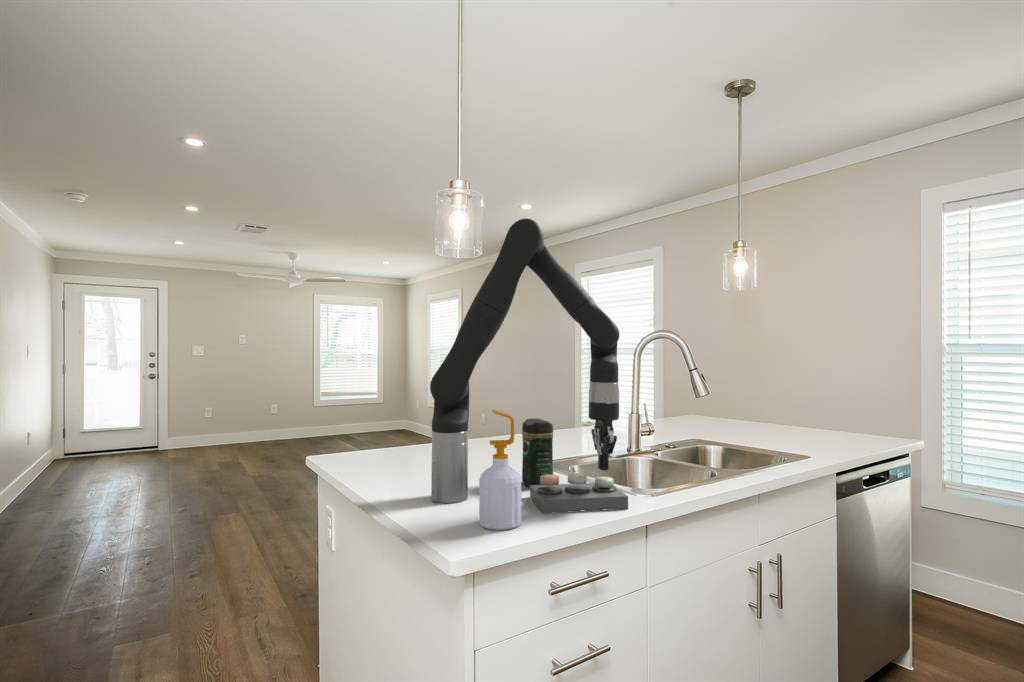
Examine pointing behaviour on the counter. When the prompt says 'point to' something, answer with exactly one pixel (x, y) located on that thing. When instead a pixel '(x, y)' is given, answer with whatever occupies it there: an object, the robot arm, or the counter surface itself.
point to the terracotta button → (549, 480)
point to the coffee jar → (537, 450)
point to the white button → (577, 478)
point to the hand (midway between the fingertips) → (603, 469)
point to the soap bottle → (500, 489)
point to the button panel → (577, 497)
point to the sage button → (604, 482)
